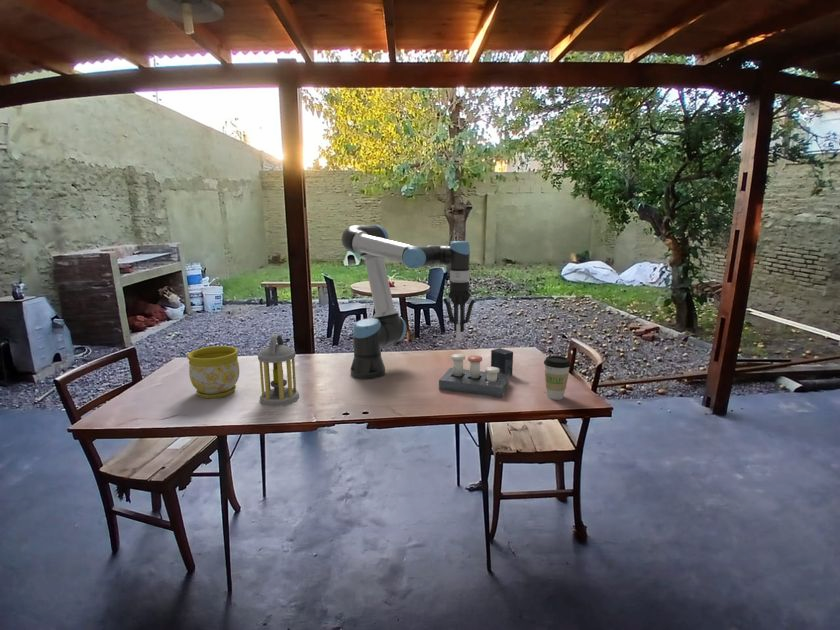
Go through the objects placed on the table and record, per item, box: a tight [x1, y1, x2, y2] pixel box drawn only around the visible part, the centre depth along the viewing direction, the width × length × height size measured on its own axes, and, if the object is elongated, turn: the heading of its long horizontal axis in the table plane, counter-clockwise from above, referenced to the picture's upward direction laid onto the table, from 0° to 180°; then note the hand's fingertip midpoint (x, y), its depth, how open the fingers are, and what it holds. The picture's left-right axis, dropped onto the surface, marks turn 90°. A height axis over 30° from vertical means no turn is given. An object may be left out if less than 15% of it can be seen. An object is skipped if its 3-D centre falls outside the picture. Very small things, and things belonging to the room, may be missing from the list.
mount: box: [438, 367, 510, 398], centre depth 191 cm, size 25×16×4 cm, turn 70°
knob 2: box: [484, 366, 499, 382], centre depth 188 cm, size 6×6×8 cm
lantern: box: [257, 333, 300, 407], centre depth 176 cm, size 14×14×25 cm
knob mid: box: [467, 355, 483, 378], centre depth 189 cm, size 6×6×8 cm
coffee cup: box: [543, 355, 572, 401], centre depth 179 cm, size 10×10×15 cm
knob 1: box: [450, 353, 466, 376], centre depth 192 cm, size 6×6×8 cm
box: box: [490, 347, 514, 377], centre depth 205 cm, size 8×6×11 cm
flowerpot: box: [186, 345, 240, 399], centre depth 183 cm, size 18×18×16 cm
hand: (459, 339), depth 189 cm, fingers closed
